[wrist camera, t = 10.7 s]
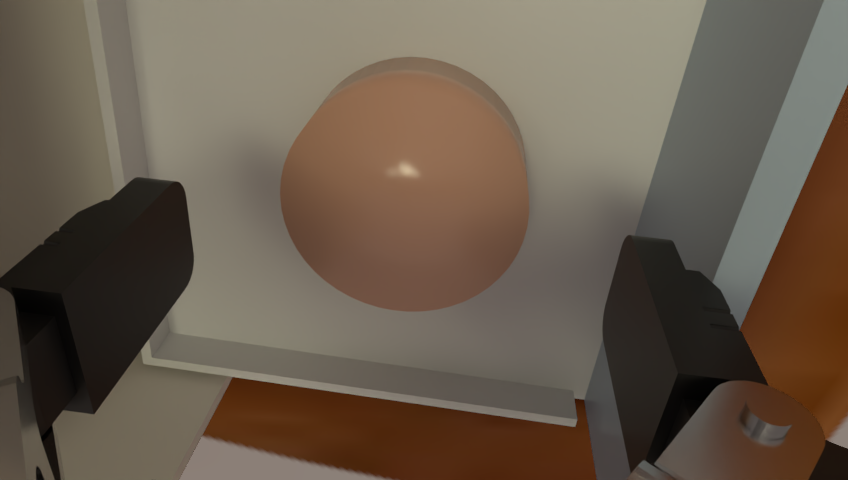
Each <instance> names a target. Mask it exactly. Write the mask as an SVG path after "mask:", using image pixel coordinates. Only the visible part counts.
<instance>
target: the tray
mask: <svg viewBox="0 0 848 480" xmlns="http://www.w3.org/2000/svg"><path fill="white" fill-rule="evenodd" d="M83 2H84V8H85V14H86V20H87V26H88V32H89V38H90V44H91V50H92V56H93V62H94V69H95V75H96V81H97V87H98V93H99V99H100V105H101V111H102V117H103V123H104V129H105V135H106V141H107V147H108V154H109V160H110V166H111V172H112V178H113V184H114V190H115V194H117V193H118V192H119V191H120V190H121V189H122V188H123V187H124V186H126V185H127V184H128V183H129V182H130V181H131V180H133V179H134V178H136V177H143V178H151V179H160V180H169V181H177V182H180V183H181V184H182V186H183V187H184V190H185V193H186V200H187V207H188V215H189V222H190V230H191V237H192V245H193V252H194V266H193V272H192V276H191V279H190V281H189V284H188V286H187V287H186V289H185V290H184V292H183V293H182V294H181V296H180V297H179V298H178V300H177V301H176V303H175V304H174V305H173V307H172V308H171V309H170V311H169V312H168V314H167V315H166V316H165V318H164V319H163V320H162V322H161V323H160V325H159V326H158V327H157V329H156V330H155V331H154V333H153V334H152V336H151V337H150V338H149V340H148V341H147V342H146V344H145V345H144V347H143V348H142V349H141V354H142V360H143V364H148V365H155V366H162V367H168V368H175V369H182V370H189V371H196V372H203V373H209V374H216V375H223V376H230V377H237V378H243V379H250V380H257V381H264V382H271V383H278V384H284V385H291V386H298V387H305V388H312V389H319V390H325V391H332V392H339V393H346V394H353V395H360V396H366V397H373V398H380V399H387V400H394V401H401V402H407V403H414V404H421V405H428V406H435V407H442V408H448V409H455V410H462V411H469V412H476V413H483V414H489V415H496V416H503V417H510V418H517V419H524V420H530V421H537V422H544V423H551V424H558V425H565V426H571V427H575V426H576V423H577V414H576V406H575V399H574V398H576V399H583V400H584V402H585V408H586V414H587V421H588V427H589V433H590V440H591V446H592V452H593V459H594V465H595V471H596V478H597V480H626V479H627V478H628V477H629V475H630V474H631V473H630V468H629V463H628V458H627V453H626V449H625V444H624V439H623V434H622V429H621V424H620V420H619V415H618V410H617V405H616V400H615V395H614V391H613V386H612V381H611V376H610V371H609V366H608V362H607V357H606V352H605V347H604V342H603V334H602V325H603V315H604V309H605V304H606V301H607V297H608V293H609V290H610V286H611V283H612V279H613V275H614V272H615V268H616V265H617V261H618V257H619V254H620V250H621V247H622V244H623V241H624V239H625V238H626V236H628V235H634V236H642V237H651V238H659V239H668V240H672V241H673V242H674V244H675V246H676V249H677V251H678V253H679V255H680V258H681V260H682V262H683V265H684V267H685V269H686V270H694V271H700V272H701V273H702V274H703V275H704V276H706V277H707V278H708V279H709V280H710V281H711V282H712V283H713V284H714V285H716V286H717V287H718V288H719V289H720V290H721V292H722V294H723V296H724V298H725V300H726V302H727V304H728V306H729V308H730V310H731V312H730V314H733V316H734V318H735V320H736V322H737V324H738V326H739V330H740V327H741V325H742V323H743V320H744V318H745V316H746V314H747V311H748V309H749V307H750V305H751V302H752V300H753V298H754V295H755V293H756V291H757V289H758V286H759V284H760V282H761V280H762V277H763V275H764V273H765V271H766V268H767V266H768V264H769V261H770V259H771V257H772V255H773V252H774V250H775V248H776V246H777V243H778V241H779V239H780V237H781V234H782V232H783V230H784V227H785V225H786V223H787V221H788V218H789V216H790V214H791V212H792V209H793V207H794V205H795V203H796V200H797V198H798V196H799V193H800V191H801V189H802V187H803V184H804V182H805V180H806V178H807V175H808V173H809V171H810V169H811V166H812V164H813V162H814V159H815V157H816V155H817V153H818V150H819V148H820V146H821V144H822V141H823V139H824V137H825V135H826V132H827V130H828V128H829V125H830V123H831V121H832V119H833V116H834V114H835V112H836V110H837V107H838V105H839V103H840V101H841V98H842V96H843V94H844V91H845V89H846V87H847V85H848V0H83ZM402 57H420V58H429V59H434V60H439V61H443V62H446V63H449V64H452V65H455V66H458V67H460V68H462V69H464V70H466V71H468V72H470V73H471V74H473V75H474V76H476V77H477V78H479V79H480V80H482V81H483V82H485V83H486V84H487V85H488V86H489V87H490V88H491V89H493V90H494V91H495V92H496V93H497V95H498V96H499V97H500V98H501V99H502V100H503V101H504V103H505V104H506V106H507V107H508V109H509V110H510V112H511V113H512V115H513V117H514V119H515V121H516V123H517V125H518V127H519V130H520V133H521V136H522V140H523V144H524V150H525V158H526V169H527V181H528V193H529V219H528V226H527V230H526V234H525V237H524V241H523V243H522V246H521V248H520V250H519V252H518V254H517V256H516V257H515V259H514V261H513V262H512V264H511V265H510V267H509V268H508V269H507V270H506V271H505V273H504V274H503V275H502V276H501V277H500V278H499V279H498V280H497V281H496V282H494V283H493V284H492V285H491V286H490V287H489V288H487V289H486V290H484V291H483V292H481V293H480V294H478V295H476V296H474V297H472V298H470V299H468V300H466V301H464V302H462V303H459V304H456V305H453V306H450V307H446V308H442V309H438V310H430V311H416V312H407V311H396V310H389V309H384V308H379V307H376V306H373V305H369V304H366V303H363V302H361V301H359V300H356V299H354V298H352V297H350V296H348V295H346V294H344V293H342V292H341V291H339V290H337V289H336V288H334V287H333V286H332V285H330V284H329V283H327V282H326V281H325V280H324V279H323V278H321V277H320V276H319V275H318V274H317V273H316V272H315V271H314V270H313V269H312V268H311V267H310V266H309V265H308V264H307V262H306V261H305V260H304V259H303V257H302V256H301V254H300V253H299V252H298V250H297V249H296V247H295V245H294V243H293V241H292V239H291V237H290V235H289V233H288V230H287V228H286V225H285V222H284V218H283V214H282V209H281V200H280V185H281V176H282V171H283V166H284V163H285V160H286V158H287V155H288V152H289V150H290V148H291V146H292V145H293V143H294V141H295V139H296V138H297V136H298V135H299V134H300V132H301V131H302V129H303V128H304V127H305V125H306V124H307V123H308V121H309V120H310V119H311V117H312V116H313V115H314V113H315V112H316V111H317V109H318V108H319V106H320V105H321V104H322V102H323V101H324V100H325V98H326V97H327V96H328V95H329V93H330V92H331V91H332V90H333V89H334V88H335V87H336V86H337V85H338V84H339V83H340V82H341V81H343V80H344V79H345V78H347V77H348V76H349V75H351V74H352V73H354V72H356V71H358V70H360V69H362V68H363V67H365V66H368V65H371V64H373V63H376V62H379V61H383V60H388V59H393V58H402Z"/></svg>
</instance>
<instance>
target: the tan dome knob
mask: <svg viewBox="0 0 848 480" xmlns="http://www.w3.org/2000/svg"><path fill="white" fill-rule="evenodd" d="M280 200H281V209H282V214H283V218H284V222H285V225H286V228H287V230H288V233H289V235H290V237H291V239H292V241H293V243H294V245H295V247H296V249H297V250H298V252H299V253H300V254H301V256H302V257H303V259H304V260H305V261H306V262H307V264H308V265H309V266H310V267H311V268H312V269H313V270H314V271H315V272H316V273H317V274H318V275H319V276H320V277H321V278H323V279H324V280H325V281H326V282H327V283H329V284H330V285H332V286H333V287H334V288H336V289H337V290H339V291H341V292H342V293H344V294H346V295H348V296H350V297H352V298H354V299H356V300H359V301H361V302H363V303H366V304H369V305H373V306H376V307H379V308H384V309H389V310H396V311H407V312H416V311H430V310H438V309H442V308H446V307H450V306H453V305H456V304H459V303H462V302H464V301H466V300H468V299H470V298H472V297H474V296H476V295H478V294H480V293H481V292H483V291H484V290H486V289H487V288H489V287H490V286H491V285H492V284H493V283H494V282H496V281H497V280H498V279H499V278H500V277H501V276H502V275H503V274H504V273H505V271H506V270H507V269H508V268H509V267H510V265H511V264H512V262H513V261H514V259H515V257H516V256H517V254H518V252H519V250H520V248H521V246H522V243H523V241H524V237H525V234H526V230H527V226H528V219H529V193H528V181H527V169H526V158H525V150H524V144H523V140H522V136H521V133H520V130H519V127H518V125H517V123H516V121H515V119H514V117H513V115H512V113H511V112H510V110H509V109H508V107H507V106H506V104H505V103H504V101H503V100H502V99H501V98H500V97H499V96H498V95H497V93H496V92H495V91H494V90H493V89H491V88H490V87H489V86H488V85H487V84H486V83H485V82H483V81H482V80H480V79H479V78H477V77H476V76H474V75H473V74H471V73H470V72H468V71H466V70H464V69H462V68H460V67H458V66H455V65H452V64H449V63H446V62H443V61H439V60H434V59H429V58H420V57H402V58H393V59H388V60H383V61H379V62H376V63H373V64H371V65H368V66H365V67H363V68H362V69H360V70H358V71H356V72H354V73H352V74H351V75H349V76H348V77H347V78H345V79H344V80H343V81H341V82H340V83H339V84H338V85H337V86H336V87H335V88H334V89H333V90H332V91H331V92H330V93H329V95H328V96H327V97H326V98H325V100H324V101H323V102H322V104H321V105H320V106H319V108H318V109H317V111H316V112H315V113H314V115H313V116H312V117H311V119H310V120H309V121H308V123H307V124H306V125H305V127H304V128H303V129H302V131H301V132H300V134H299V135H298V136H297V138H296V139H295V141H294V143H293V145H292V146H291V148H290V150H289V152H288V155H287V158H286V160H285V163H284V166H283V171H282V176H281V185H280Z"/></svg>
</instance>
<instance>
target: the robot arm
mask: <svg viewBox="0 0 848 480" xmlns="http://www.w3.org/2000/svg"><path fill="white" fill-rule="evenodd" d="M193 266H194V252H193V245H192V237H191V230H190V222H189V215H188V207H187V200H186V193H185V190H184V187H183V186H182V184H181V183H180V182H177V181H169V180H160V179H151V178H143V177H136V178H134V179H133V180H131V181H130V182H129V183H128V184H127V185H126V186H124V187H123V188H122V189H121V190H120V191H119V192H118V193H117V194H115V195H114V196H113V197H112V198H111V199H110V200H103V201H101V202H99V203H97V204H95V205H92V206H90V207H88V208H86V209H84V210H81V211H79V212H77V213H76V214H75V215H74V216H73V217H71V218H70V219H69V220H68V221H67V222H66V223H64V224H63V225H62V226H61V227H60V228H59V231H55V232H54V233H53V234H51V235H50V236H49V237H48V238H47V239H45V240H44V244H43V245H42V244H40V245H38V246H37V247H36V248H35V249H34V250H32V251H31V252H30V253H29V254H28V255H27V256H25V257H24V258H23V259H22V260H21V261H19V262H18V263H17V264H16V265H15V266H14V267H12V268H11V269H10V270H9V271H8V272H6V273H5V274H4V275H3V276H2V277H1V278H0V480H65V477H64V471H63V465H62V459H61V453H60V446H59V440H58V435H57V432H56V429H55V426H54V421H55V420H56V419H57V417H58V416H59V415H60V414H61V412H62V411H63V410H65V411H73V412H80V413H87V414H95V413H96V411H97V410H98V408H99V407H100V406H101V404H102V403H103V402H104V400H105V399H106V397H107V396H108V395H109V393H110V392H111V391H112V389H113V388H114V386H115V385H116V384H117V382H118V381H119V380H120V378H121V377H122V375H123V374H124V373H125V371H126V370H127V369H128V367H129V366H130V364H131V363H132V362H133V360H134V359H135V358H136V356H137V355H138V353H139V352H140V351H141V349H142V348H143V347H144V345H145V344H146V342H147V341H148V340H149V338H150V337H151V336H152V334H153V333H154V331H155V330H156V329H157V327H158V326H159V325H160V323H161V322H162V320H163V319H164V318H165V316H166V315H167V314H168V312H169V311H170V309H171V308H172V307H173V305H174V304H175V303H176V301H177V300H178V298H179V297H180V296H181V294H182V293H183V292H184V290H185V289H186V287H187V286H188V284H189V281H190V279H191V276H192V272H193ZM730 312H731V310H730V308H729V306H728V304H727V302H726V300H725V298H724V296H723V294H722V292H721V290H720V289H719V288H718V287H717V286H716V285H714V284H713V283H712V282H711V281H710V280H709V279H708V278H707V277H706V276H704V275H703V274H702V273H701V272H700V271H694V270H686V269H685V267H684V265H683V262H682V260H681V258H680V255H679V253H678V251H677V249H676V246H675V244H674V242H673V241H672V240H668V239H659V238H651V237H642V236H634V235H628V236H626V238H625V239H624V241H623V244H622V247H621V250H620V254H619V257H618V261H617V265H616V268H615V272H614V275H613V279H612V283H611V286H610V290H609V293H608V297H607V301H606V304H605V309H604V315H603V325H602V334H603V342H604V347H605V352H606V357H607V362H608V366H609V371H610V376H611V381H612V386H613V391H614V395H615V400H616V405H617V410H618V415H619V420H620V424H621V429H622V434H623V439H624V444H625V449H626V453H627V458H628V463H629V468H630V473H631V474H630V475H629V477H628V478H627V479H626V480H848V449H847V448H844V447H841V446H839V445H836V444H834V443H831V442H829V441H827V440H825V435H824V432H823V429H822V427H821V425H820V424H819V422H818V421H817V419H816V418H815V417H814V416H813V415H812V413H811V412H810V411H809V410H808V409H807V408H805V407H804V406H803V405H802V404H801V403H799V402H798V401H796V400H795V399H794V398H792V397H791V396H789V395H787V394H785V393H784V392H781V391H779V390H777V389H775V388H773V387H770V386H768V384H767V382H766V380H765V378H764V376H763V374H762V372H761V370H760V368H759V366H758V364H757V362H756V360H755V358H754V356H753V354H752V352H751V350H750V348H749V346H748V344H747V342H746V340H745V338H744V336H743V334H742V332H741V331H739V326H738V324H737V322H736V320H735V318H734V316H733V314H730Z"/></svg>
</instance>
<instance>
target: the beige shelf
mask: <svg viewBox="0 0 848 480" xmlns="http://www.w3.org/2000/svg"><path fill="white" fill-rule="evenodd" d="M114 195H115V190H114V184H113V178H112V172H111V166H110V160H109V154H108V147H107V141H106V135H105V129H104V123H103V117H102V111H101V105H100V99H99V93H98V87H97V81H96V75H95V69H94V62H93V56H92V50H91V44H90V38H89V32H88V26H87V20H86V14H85V8H84V2H83V0H0V278H1V277H2V276H3V275H4V274H5V273H6V272H8V271H9V270H10V269H11V268H12V267H14V266H15V265H16V264H17V263H18V262H19V261H21V260H22V259H23V258H24V257H25V256H27V255H28V254H29V253H30V252H31V251H32V250H34V249H35V248H36V247H37V246H38V245H40V244H42V245H43V244H44V240H45V239H47V238H48V237H49V236H50V235H51V234H53V233H54V232H55V231H59V228H60V227H61V226H62V225H63V224H64V223H66V222H67V221H68V220H69V219H70V218H71V217H73V216H74V215H75V214H76V213H77V212H79V211H81V210H84V209H86V208H88V207H90V206H92V205H95V204H97V203H99V202H101V201H103V200H110V199H111V198H112V197H113V196H114ZM232 378H233V377H230V376H223V375H216V374H209V373H203V372H196V371H189V370H182V369H175V368H168V367H162V366H155V365H148V364H143V360H142V354H141V351H140V352H139V353H138V355H137V356H136V358H135V359H134V360H133V362H132V363H131V364H130V366H129V367H128V369H127V370H126V371H125V373H124V374H123V375H122V377H121V378H120V380H119V381H118V382H117V384H116V385H115V386H114V388H113V389H112V391H111V392H110V393H109V395H108V396H107V397H106V399H105V400H104V402H103V403H102V404H101V406H100V407H99V408H98V410H97V411H96V413H95V414H87V413H80V412H73V411H65V410H63V411H62V412H61V414H60V415H59V416H58V417H57V419H56V420H55V421H54V426H55V429H56V432H57V435H58V440H59V446H60V453H61V459H62V465H63V471H64V477H65V480H179V479H180V477H181V475H182V473H183V471H184V469H185V467H186V465H187V463H188V462H189V460H190V458H191V456H192V454H193V452H194V450H195V448H196V446H197V444H198V442H199V440H200V439H201V437H202V435H203V433H204V431H205V429H206V427H207V425H208V423H209V421H210V420H211V418H212V416H213V414H214V412H215V410H216V408H217V406H218V404H219V402H220V400H221V399H222V397H223V395H224V393H225V391H226V389H227V387H228V385H229V383H230V381H231V379H232Z"/></svg>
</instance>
